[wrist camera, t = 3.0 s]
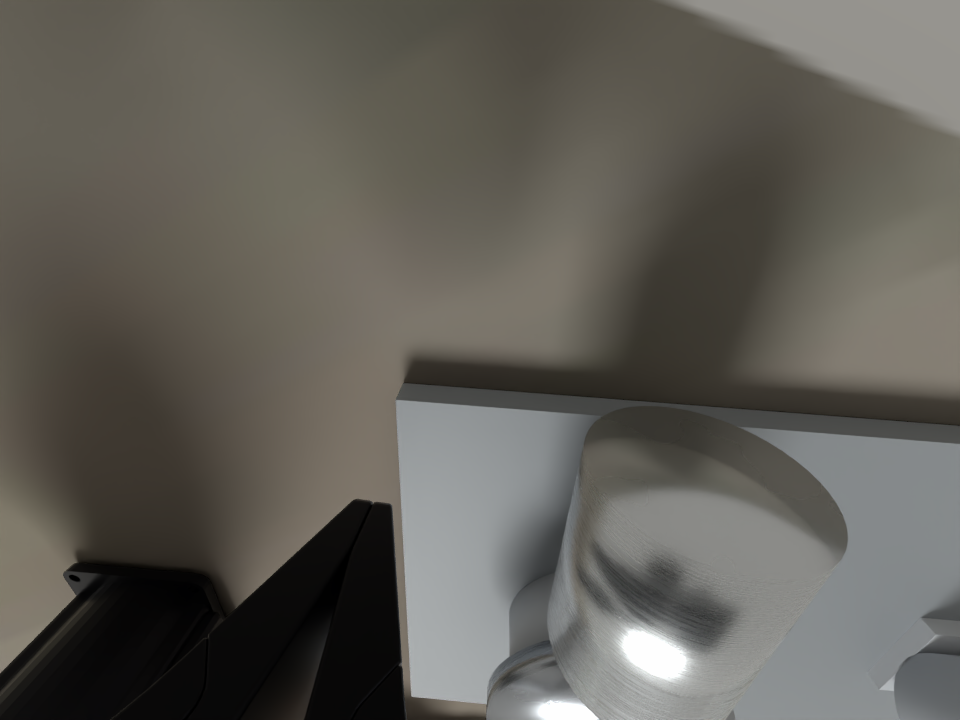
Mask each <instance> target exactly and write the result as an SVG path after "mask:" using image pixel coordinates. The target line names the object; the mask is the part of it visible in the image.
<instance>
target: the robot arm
mask: <svg viewBox="0 0 960 720" xmlns="http://www.w3.org/2000/svg"><path fill="white" fill-rule="evenodd" d="M63 576H64V578H65V580H66V581H67V583H68V584H69V585H70V587H71V588H72V590H73V591H74V593H75V594H76V597H75V598H74V599H73V600H72V601H71V602H70V603H69V604H68V605H67V606H66V607H65V608H64V609H63V610H62V611H61V612H60V613H59V614H58V615H57V616H56V618H55V619H54V620H53V621H52V622H51V623H50V624H49V625H48V626H47V627H46V628H45V629H44V630H43V631H42V632H41V633H40V634H39V635H38V636H37V637H36V638H35V639H34V640H33V641H32V642H31V643H30V644H29V645H28V646H27V647H26V648H25V649H24V650H23V651H22V652H21V653H20V654H19V655H18V656H17V657H16V658H15V659H14V660H13V661H12V662H11V663H10V664H9V665H8V666H7V667H6V668H5V669H4V670H3V671H2V672H1V673H0V720H407V719H406V708H405V698H404V685H403V669H402V666H401V665H402V656H401V640H400V624H399V608H398V592H397V576H396V560H395V543H394V527H393V511H392V505H391V504H389V503H382V502H374V503H373V502H372V501H368V500H362V499H355V500H353V501H352V502H351V503H349V504H348V505H347V506H346V507H345V508H344V509H343V510H342V511H341V512H340V513H339V514H338V515H337V516H335V517H334V518H333V519H332V520H331V521H330V522H329V523H328V524H327V525H326V526H325V527H324V528H322V529H321V530H320V531H319V532H318V533H317V534H316V535H315V536H314V537H313V538H312V539H311V540H310V541H308V542H307V543H306V544H305V545H304V546H303V547H302V548H301V549H300V550H299V551H298V552H297V553H295V554H294V555H293V556H292V557H291V558H290V559H289V560H288V561H287V562H286V563H285V564H284V565H283V566H281V567H280V568H279V569H278V570H277V571H276V572H275V573H274V574H273V575H272V576H271V577H270V578H268V579H267V580H266V581H265V582H264V583H263V584H262V585H261V586H260V587H259V588H258V589H257V590H256V591H254V592H253V593H252V594H251V595H250V596H249V597H248V598H247V599H246V600H245V601H244V602H243V603H241V604H240V605H239V606H238V607H237V608H236V609H235V610H234V611H233V612H232V613H231V614H230V615H229V616H227V617H226V618H225V616H224V614H223V611H222V609H221V606H220V604H219V602H218V599H217V597H216V594H215V592H214V589H213V587H212V585H211V582H210V581H209V579H208V578H206V577H205V576H202V575H199V574H191V573H181V572H170V571H159V570H148V569H137V568H126V567H116V566H105V565H94V564H83V563H75V564H73V565H71V566H70V567H69V568H68V569H67V570H66V571H65V572H64V573H63Z"/></svg>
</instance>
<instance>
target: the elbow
mask: <svg viewBox="0 0 960 720" xmlns="http://www.w3.org/2000/svg"><path fill="white" fill-rule="evenodd" d="M847 543H848V532H847V526H846V523H845V520H844V517H843V515H842V513H841V511H840V509H839V507H838V505H837V503H836V502H835V501H834V499H833V498H832V496H831V495H830V494H829V492H828V491H827V490H826V489H825V488H824V486H823V485H822V484H821V483H820V482H819V481H818V480H817V479H816V478H815V477H814V476H813V475H812V474H811V473H810V472H809V471H808V470H807V469H805V468H804V467H803V466H802V465H801V464H799V463H798V462H797V461H796V460H794V459H793V458H792V457H790V456H789V455H787V454H786V453H784V452H783V451H782V450H780V449H778V448H777V447H775V446H774V445H772V444H770V443H769V442H767V441H765V440H763V439H762V438H760V437H758V436H756V435H754V434H752V433H750V432H748V431H746V430H744V429H742V428H739V427H737V426H735V425H732V424H730V423H727V422H725V421H722V420H719V419H716V418H713V417H710V416H707V415H703V414H700V413H696V412H692V411H688V410H683V409H677V408H670V407H661V406H636V407H628V408H623V409H619V410H616V411H613V412H610V413H608V414H606V415H604V416H602V417H601V418H599V419H598V420H597V421H595V422H594V424H593V425H592V426H591V427H590V428H589V430H588V432H587V434H586V437H585V441H584V445H583V449H582V454H581V459H580V463H579V468H578V472H577V477H576V481H575V486H574V490H573V495H572V499H571V504H570V508H569V513H568V517H567V522H566V526H565V531H564V536H563V540H562V545H561V549H560V554H559V558H558V563H557V567H556V572H555V576H554V581H553V585H552V590H551V594H550V599H549V603H548V612H547V627H548V634H549V640H546V641H542V642H539V643H536V644H534V645H531V646H528V647H526V648H524V649H522V650H520V651H518V652H516V653H515V654H513V655H511V656H510V657H508V658H507V659H506V660H504V661H503V662H502V663H501V664H500V665H499V666H498V667H497V668H496V669H495V671H494V672H493V674H492V675H491V677H490V679H489V682H488V686H487V709H486V720H735V714H734V711H733V709H734V707H735V706H736V704H737V703H738V702H739V700H740V699H741V697H742V696H743V695H744V693H745V692H746V691H747V689H748V688H749V686H750V685H751V684H752V682H753V681H754V680H755V678H756V677H757V675H758V674H759V673H760V671H761V670H762V668H763V667H764V666H765V664H766V663H767V662H768V660H769V659H770V657H771V656H772V655H773V653H774V652H775V651H776V649H777V648H778V646H779V645H780V644H781V642H782V641H783V640H784V638H785V637H786V635H787V634H788V633H789V631H790V630H791V628H792V627H793V626H794V624H795V623H796V622H797V620H798V619H799V617H800V616H801V615H802V613H803V612H804V611H805V609H806V608H807V606H808V605H809V604H810V602H811V601H812V599H813V598H814V597H815V595H816V594H817V593H818V591H819V590H820V588H821V587H822V586H823V584H824V583H825V582H826V580H827V579H828V577H829V576H830V575H831V573H832V572H833V570H834V569H835V568H836V566H837V565H838V564H839V562H840V561H841V559H842V557H843V556H844V554H845V552H846V550H847Z"/></svg>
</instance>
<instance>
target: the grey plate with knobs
mask: <svg viewBox="0 0 960 720" xmlns="http://www.w3.org/2000/svg"><path fill="white" fill-rule="evenodd" d="M636 406H661V407H670V408H677V409H683V410H688V411H692V412H696V413H700V414H703V415H707V416H710V417H713V418H716V419H719V420H722V421H725V422H727V423H730V424H732V425H735V426H737V427H739V428H742V429H744V430H746V431H748V432H750V433H752V434H754V435H756V436H758V437H760V438H762V439H763V440H765V441H767V442H769V443H770V444H772V445H774V446H775V447H777V448H778V449H780V450H782V451H783V452H784V453H786V454H787V455H789V456H790V457H792V458H793V459H794V460H796V461H797V462H798V463H799V464H801V465H802V466H803V467H804V468H805V469H807V470H808V471H809V472H810V473H811V474H812V475H813V476H814V477H815V478H816V479H817V480H818V481H819V482H820V483H821V484H822V485H823V486H824V488H825V489H826V490H827V491H828V492H829V494H830V495H831V496H832V498H833V499H834V501H835V502H836V503H837V505H838V507H839V509H840V511H841V513H842V515H843V517H844V520H845V523H846V526H847V532H848V543H847V550H846V552H845V554H844V556H843V557H842V559H841V561H840V562H839V564H838V565H837V566H836V568H835V569H834V570H833V572H832V573H831V575H830V576H829V577H828V579H827V580H826V582H825V583H824V584H823V586H822V587H821V588H820V590H819V591H818V593H817V594H816V595H815V597H814V598H813V599H812V601H811V602H810V604H809V605H808V606H807V608H806V609H805V611H804V612H803V613H802V615H801V616H800V617H799V619H798V620H797V622H796V623H795V624H794V626H793V627H792V628H791V630H790V631H789V633H788V634H787V635H786V637H785V638H784V640H783V641H782V642H781V644H780V645H779V646H778V648H777V649H776V651H775V652H774V653H773V655H772V656H771V657H770V659H769V660H768V662H767V663H766V664H765V666H764V667H763V668H762V670H761V671H760V673H759V674H758V675H757V677H756V678H755V680H754V681H753V682H752V684H751V685H750V686H749V688H748V689H747V691H746V692H745V693H744V695H743V696H742V697H741V699H740V700H739V702H738V703H737V704H736V706H735V707H734V709H733V711H734V714H735V720H960V426H955V425H942V424H929V423H916V422H903V421H890V420H877V419H864V418H851V417H838V416H825V415H812V414H799V413H786V412H773V411H760V410H747V409H734V408H721V407H708V406H695V405H682V404H669V403H656V402H643V401H630V400H617V399H604V398H591V397H578V396H565V395H552V394H540V393H527V392H514V391H501V390H488V389H475V388H462V387H449V386H436V385H423V384H410V383H403V385H402V387H401V389H400V392H399V394H398V396H397V398H396V416H397V435H398V453H399V472H400V491H401V510H402V529H403V547H404V566H405V585H406V604H407V623H408V642H409V660H410V679H411V697H420V698H430V699H440V700H450V701H460V702H470V703H480V704H487V686H488V682H489V679H490V677H491V675H492V674H493V672H494V671H495V669H496V668H497V667H498V666H499V665H500V664H501V663H502V662H503V661H504V660H506V659H507V658H508V657H510V656H511V655H513V654H515V653H516V652H518V651H520V650H522V649H524V648H526V647H528V646H531V645H534V644H536V643H539V642H542V641H546V640H549V634H548V627H547V612H548V603H549V599H550V594H551V590H552V585H553V581H554V576H555V572H556V567H557V563H558V558H559V554H560V549H561V545H562V540H563V536H564V531H565V526H566V522H567V517H568V513H569V508H570V504H571V499H572V495H573V490H574V486H575V481H576V477H577V472H578V468H579V463H580V459H581V454H582V449H583V445H584V441H585V437H586V434H587V432H588V430H589V428H590V427H591V426H592V425H593V424H594V422H595V421H597V420H598V419H599V418H601V417H602V416H604V415H606V414H608V413H610V412H613V411H616V410H619V409H623V408H628V407H636Z"/></svg>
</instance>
